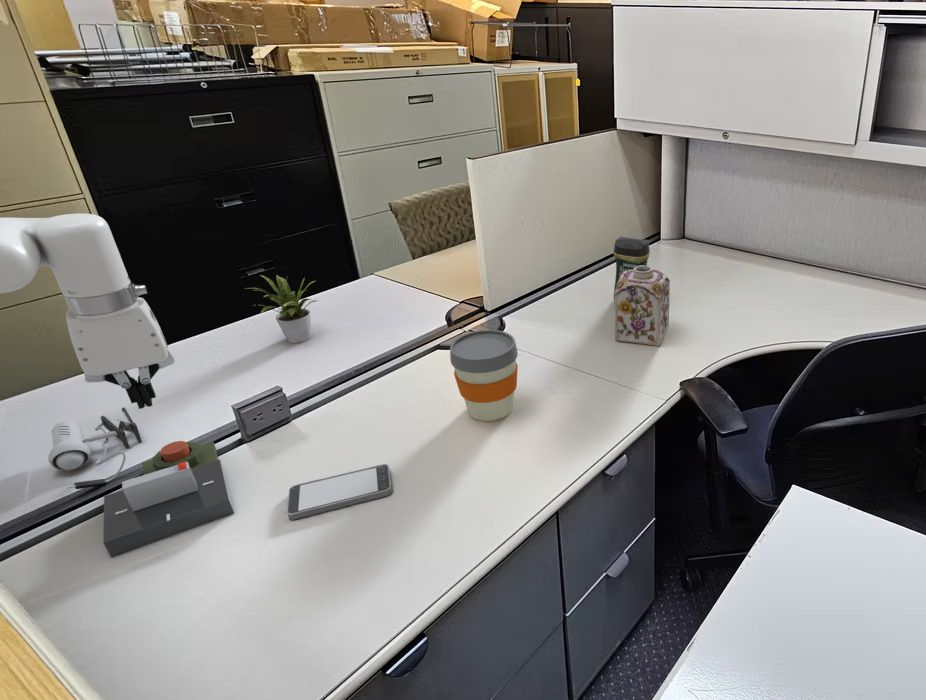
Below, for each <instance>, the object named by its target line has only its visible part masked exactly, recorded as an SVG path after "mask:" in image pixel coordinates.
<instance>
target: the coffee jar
mask: <svg viewBox="0 0 926 700" xmlns="http://www.w3.org/2000/svg"><path fill="white" fill-rule="evenodd" d="M614 242H615V243H614V248H613V257H614V260H615V281H614V291H613V300H614V302H615V290H616V286H617V283H618V280H619V278H620V275H621V274H622V273H623V272H624V271H627V270H631V269H634V268H635V267H636V266H641V265H645V266H648V261H649V258H650V254H651V251H650V243H649V240H648V239H641V238H634V237H626V236H619V237H617V239H616V240H615V241H614Z"/></svg>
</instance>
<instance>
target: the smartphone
mask: <svg viewBox="0 0 926 700" xmlns="http://www.w3.org/2000/svg"><path fill="white" fill-rule="evenodd" d="M390 470H391V469H390V466H389V464H388V463H381V464H378V465H377V464H376V465H374V466H369V467H364V468H360V469H357V470H353V471H348V472H345V473H340V474H334V475H332V476H331V475H330V476H327V477H322V478H319V479H315V480H309V481H306V482H302V483H298V484H294V485H291V486H290V487H289V489H288V499H287V508H286V514H287V516H288V519H289V520H290V521H291V520H293V521H294V520H297V519H302V518H306V517H309V516H314V515H317V514H321V513H325V512H329V511H333V510H336V509H340V508H345V507H348V506H352V505H356V504H360V503H364V502H367V501H371V500H376V499H379V498H383V497H387V496H390V495H391V494H392V493H393V488H392V478H391V471H390Z"/></svg>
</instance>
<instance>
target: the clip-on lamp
mask: <svg viewBox="0 0 926 700" xmlns="http://www.w3.org/2000/svg"><path fill="white" fill-rule="evenodd" d="M121 412H122V413H121V414H120V416H119V417H113V416H112V417H110V416H105V415H101V416H100V420H101V423H99V424H98V425H97V426H96V427H95V428H94V430H95V432H98V431H99V430H101V431H102V433H99V434H95V435H89V436H86V437H84V435H83V433H82V429H81V425H80V424H79V423H77V422H76V421H73V420H64V421H59V422H58V423H56V424H55V425H54V426H52V429H51V438H52V448H50V451H49V453H48V456H47V458H48V463H49V464H50V465H51V467H52V468H53V469H56V470H59V471H73V470H77V469H80V468H82V467H84V466H85V465H86V464H88V462H89V461H90V459H91V457H92V451H91V449H90V447H89V446H88V444H87V443H91V442H94V441H99V440H100V441H101V440H103V439H105V440H104V441H101V445H102V447H103V449H104V451H103V453H102V455H101V456H100V457H99V458H98V459H97V460H96V462H95V463H94V465H95V467H98V466H100V465H102V464H104V463H105V462H107V461H108V460H110V459H112V458H115V457H116V456H118V455H122V457H123V458H122V462H121V464H120V467H119V468H118V470H117V471H116V473H115V474H114V475H113V476H112V477H111V478H108V479H107V480H105V479H104V478H99V479H91V480H82V481H77V482H74V483H73V485H68V486H67V489H73V488H74V489H75V490H83V489H90V488H96V487H104V486H105V485H106V484H107V483H109V482H112V481H113V480H114V479H115V478H117V477H118V475H119V474H120V472H121V471H122V469H123V468H124V466H125V463H126V459H127V457H126V455H127V454H126V453H125V451H122V450H120V451H117V452H114V453H112V454H110V455H108V456H106V455H107V452H108V448H107V446H106V445H107V444H108V443H109V438H113V437H115V438H117V439H118V440H119V441H120V442H121V443H122V445H123V447H124V448H125V449H130V445H129V441H128V438H127V435H126V432H128V433H131V434H133V435H134V436H135V439H136V441H137V442H138V444H140V443H142V442H143V441H142V437H141V435H140V431H139V427H138V426H137V423H136V422H134V421H133V419H132V418H131V416H130V414H129V413H128V411H127V408H126V407H122V408H121ZM102 427H104V428H105V429H106V430H107V431H108V432H106V430H105V429H104V428H102ZM105 456H106V457H105ZM103 485H104V486H103Z"/></svg>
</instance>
